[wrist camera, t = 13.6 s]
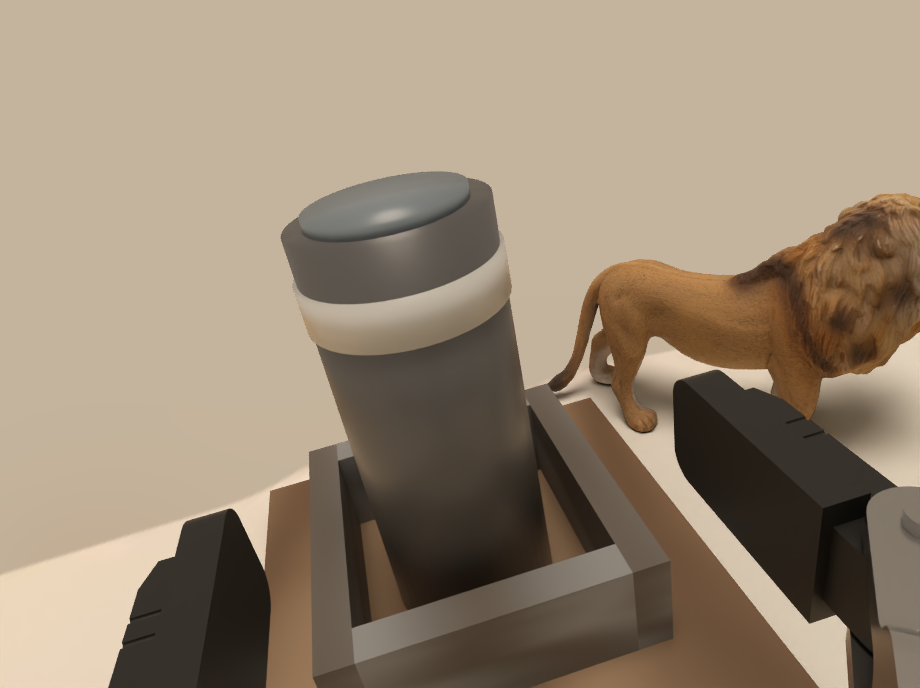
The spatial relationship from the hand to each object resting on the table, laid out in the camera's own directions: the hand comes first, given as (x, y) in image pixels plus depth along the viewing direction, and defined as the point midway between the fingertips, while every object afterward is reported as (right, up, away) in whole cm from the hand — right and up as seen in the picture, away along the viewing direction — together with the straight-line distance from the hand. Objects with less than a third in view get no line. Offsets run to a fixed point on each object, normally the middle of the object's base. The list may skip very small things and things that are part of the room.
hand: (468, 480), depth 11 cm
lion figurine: (+11, -1, +15) cm, 19 cm away
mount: (+1, -6, +10) cm, 11 cm away
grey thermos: (0, -5, +9) cm, 10 cm away
